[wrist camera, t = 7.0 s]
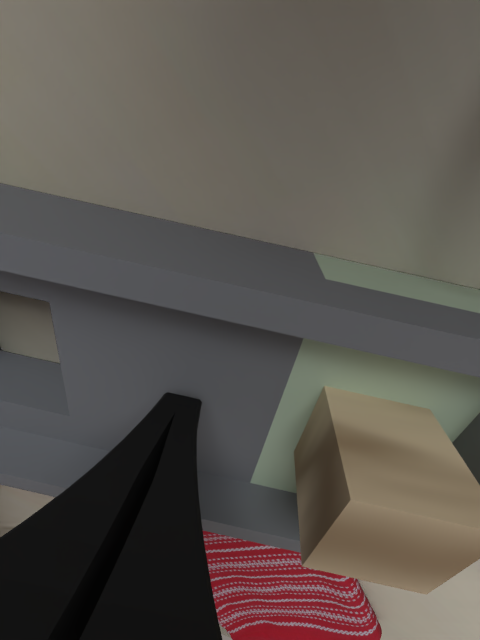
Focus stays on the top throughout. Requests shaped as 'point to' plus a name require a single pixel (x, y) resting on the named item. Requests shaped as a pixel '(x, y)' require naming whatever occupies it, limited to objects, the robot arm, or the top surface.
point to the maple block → (384, 494)
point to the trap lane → (214, 351)
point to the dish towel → (283, 595)
